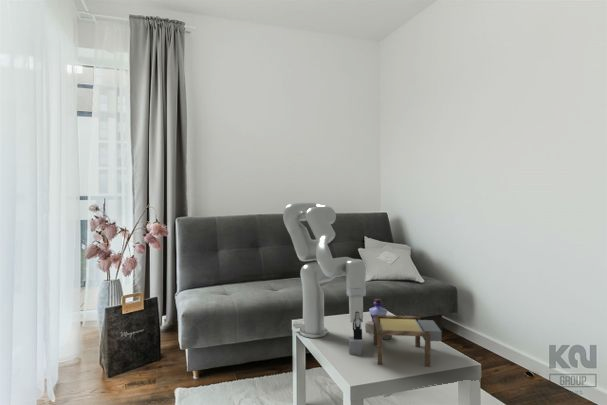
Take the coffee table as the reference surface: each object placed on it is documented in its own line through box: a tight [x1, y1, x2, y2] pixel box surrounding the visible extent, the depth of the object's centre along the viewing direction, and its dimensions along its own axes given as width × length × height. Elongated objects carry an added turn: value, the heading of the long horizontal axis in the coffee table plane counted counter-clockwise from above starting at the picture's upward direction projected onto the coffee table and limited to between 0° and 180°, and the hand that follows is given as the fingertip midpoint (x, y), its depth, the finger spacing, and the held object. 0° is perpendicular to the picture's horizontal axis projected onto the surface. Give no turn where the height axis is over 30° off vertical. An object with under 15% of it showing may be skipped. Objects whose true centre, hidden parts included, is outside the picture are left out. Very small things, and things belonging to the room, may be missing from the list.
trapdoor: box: [380, 319, 443, 342], centre depth 140 cm, size 21×14×4 cm, turn 84°
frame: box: [372, 314, 432, 368], centre depth 140 cm, size 19×19×12 cm
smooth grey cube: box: [348, 336, 363, 356], centre depth 143 cm, size 5×5×5 cm
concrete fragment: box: [364, 320, 393, 340], centre depth 160 cm, size 7×14×6 cm, turn 22°
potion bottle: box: [369, 298, 388, 322], centre depth 174 cm, size 9×9×12 cm
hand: (357, 334), depth 142 cm, fingers open, 9 cm apart
